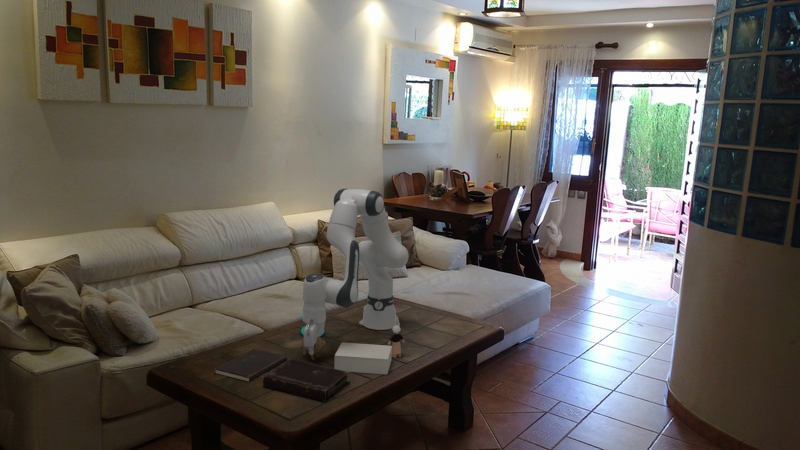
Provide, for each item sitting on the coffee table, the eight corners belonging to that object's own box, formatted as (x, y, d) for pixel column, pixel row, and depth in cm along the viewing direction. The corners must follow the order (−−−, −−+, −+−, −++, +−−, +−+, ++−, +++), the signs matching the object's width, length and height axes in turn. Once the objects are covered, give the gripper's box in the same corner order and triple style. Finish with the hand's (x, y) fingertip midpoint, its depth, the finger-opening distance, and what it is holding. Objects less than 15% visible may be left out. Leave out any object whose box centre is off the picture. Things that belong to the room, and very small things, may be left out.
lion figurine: (328, 357, 242) (326, 336, 239) (317, 362, 238) (315, 340, 236) (305, 347, 252) (303, 326, 250) (294, 352, 248) (292, 331, 246)
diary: (324, 404, 208) (324, 390, 207) (262, 389, 218) (262, 375, 217) (351, 383, 224) (351, 370, 224) (292, 369, 234) (292, 357, 233)
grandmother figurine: (398, 352, 255) (400, 322, 252) (405, 355, 252) (406, 325, 250) (385, 356, 249) (386, 326, 247) (391, 359, 247) (392, 329, 244)
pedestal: (341, 356, 248) (341, 342, 247) (391, 360, 246) (392, 345, 245) (334, 370, 234) (334, 355, 233) (387, 374, 232) (387, 359, 231)
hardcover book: (214, 374, 228) (214, 368, 227) (253, 354, 248) (253, 348, 248) (249, 383, 221) (249, 377, 221) (287, 362, 242) (287, 356, 241)
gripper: (316, 325, 229) (316, 361, 232) (327, 308, 249) (327, 341, 252) (299, 324, 230) (299, 359, 232) (312, 307, 250) (312, 340, 252)
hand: (314, 350), depth 242 cm, fingers closed on lion figurine, 7 cm apart
